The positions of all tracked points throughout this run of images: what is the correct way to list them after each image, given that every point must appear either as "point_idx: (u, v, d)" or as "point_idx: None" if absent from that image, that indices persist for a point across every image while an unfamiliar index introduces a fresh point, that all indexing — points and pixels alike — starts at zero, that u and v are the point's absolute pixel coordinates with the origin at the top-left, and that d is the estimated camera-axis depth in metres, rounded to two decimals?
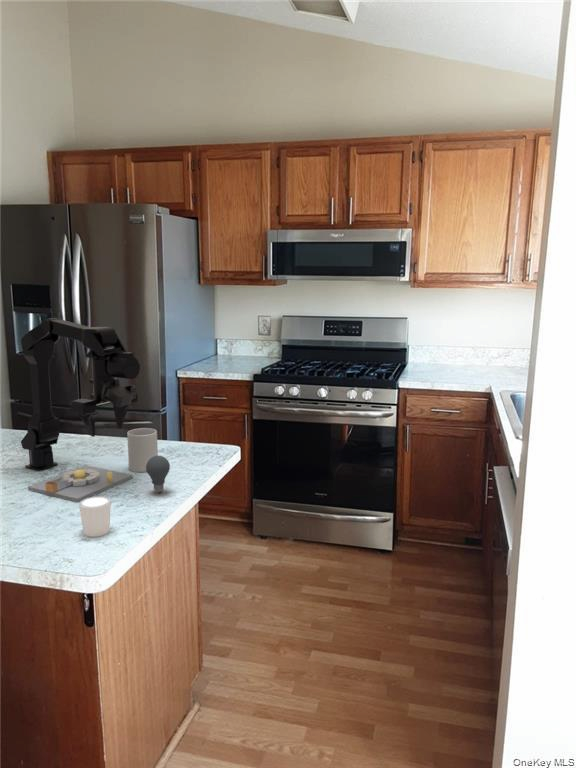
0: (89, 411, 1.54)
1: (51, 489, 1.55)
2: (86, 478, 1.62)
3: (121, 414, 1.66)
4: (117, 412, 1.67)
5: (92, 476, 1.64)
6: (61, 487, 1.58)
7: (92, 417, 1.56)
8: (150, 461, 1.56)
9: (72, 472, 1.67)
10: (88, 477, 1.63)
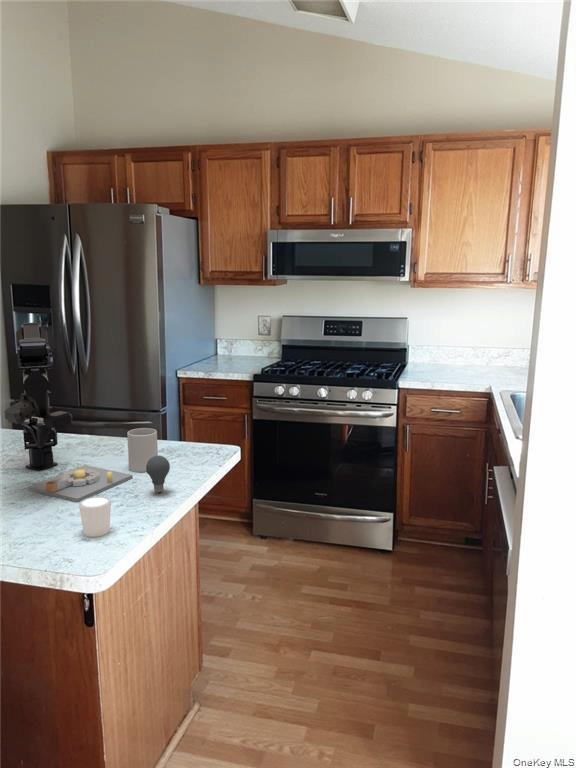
0: None
1: (51, 489, 1.55)
2: (86, 478, 1.62)
3: None
4: None
5: (92, 476, 1.64)
6: (61, 487, 1.58)
7: (28, 427, 1.57)
8: (150, 461, 1.56)
9: (72, 472, 1.67)
10: (88, 477, 1.63)
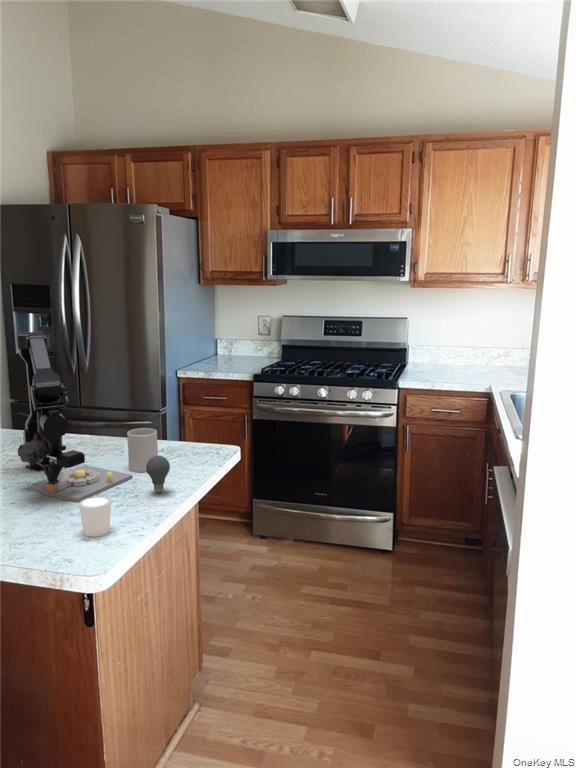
0: None
1: (52, 489, 1.55)
2: (86, 478, 1.62)
3: None
4: None
5: (93, 476, 1.64)
6: (62, 487, 1.58)
7: (41, 465, 1.57)
8: (150, 461, 1.56)
9: (72, 472, 1.67)
10: (88, 477, 1.63)
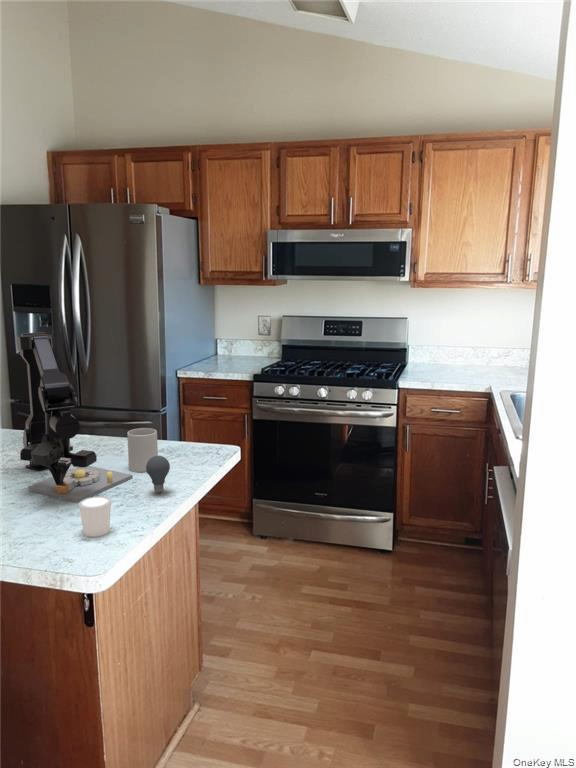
0: (24, 458, 1.55)
1: (64, 490, 1.55)
2: (90, 477, 1.63)
3: None
4: None
5: (95, 475, 1.65)
6: (71, 488, 1.57)
7: (49, 467, 1.55)
8: (150, 461, 1.56)
9: (68, 473, 1.66)
10: (91, 476, 1.64)
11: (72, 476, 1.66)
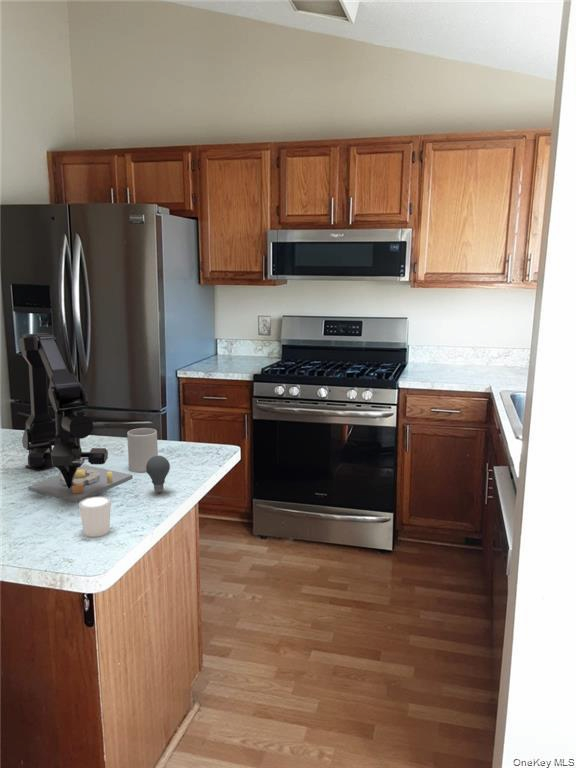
0: (33, 462, 1.52)
1: (81, 489, 1.55)
2: (93, 475, 1.65)
3: None
4: None
5: (95, 473, 1.67)
6: None
7: (61, 469, 1.54)
8: (150, 461, 1.56)
9: None
10: (92, 474, 1.65)
11: None
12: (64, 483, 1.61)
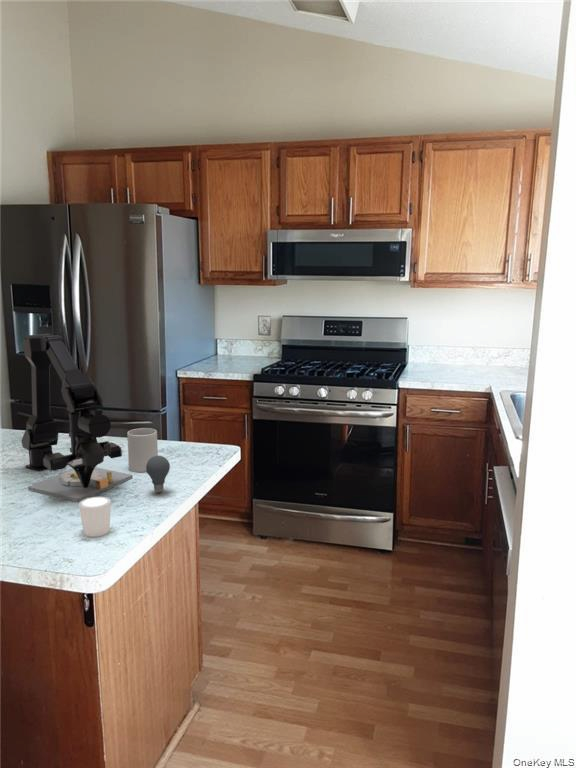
0: (57, 467, 1.50)
1: (106, 483, 1.59)
2: None
3: (87, 473, 1.57)
4: (84, 470, 1.58)
5: None
6: None
7: (80, 469, 1.55)
8: (150, 461, 1.56)
9: (67, 478, 1.62)
10: None
11: None
12: (75, 484, 1.60)
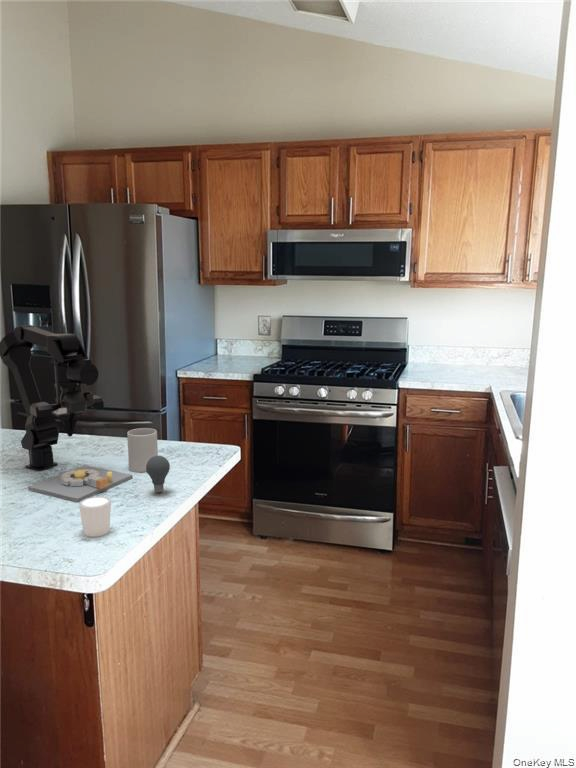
0: (43, 415, 1.59)
1: (107, 483, 1.59)
2: (92, 472, 1.67)
3: (71, 422, 1.67)
4: (69, 419, 1.68)
5: (90, 470, 1.68)
6: None
7: (65, 418, 1.65)
8: (150, 461, 1.56)
9: (67, 478, 1.62)
10: (90, 472, 1.67)
11: None
12: (75, 484, 1.60)
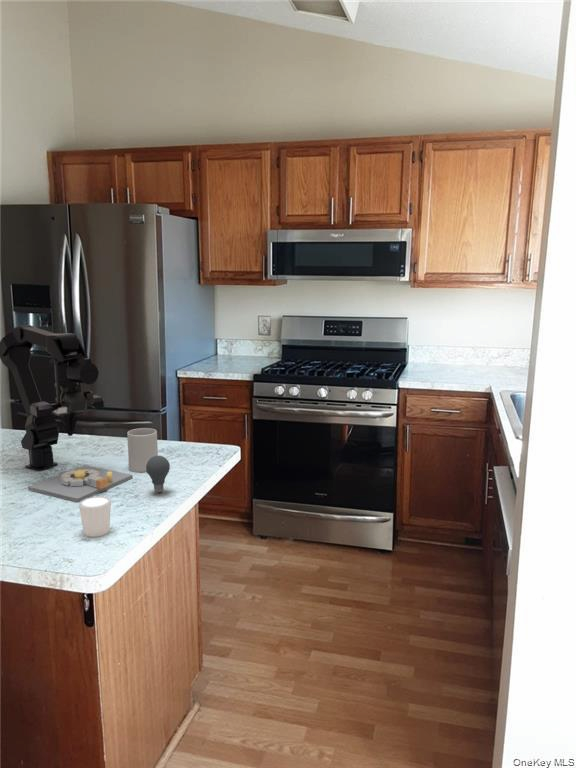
0: (43, 414, 1.59)
1: (107, 483, 1.59)
2: (92, 472, 1.67)
3: (71, 422, 1.67)
4: (69, 419, 1.68)
5: (90, 470, 1.68)
6: None
7: (65, 417, 1.65)
8: (150, 461, 1.56)
9: (67, 478, 1.62)
10: (90, 472, 1.67)
11: None
12: (75, 484, 1.60)
